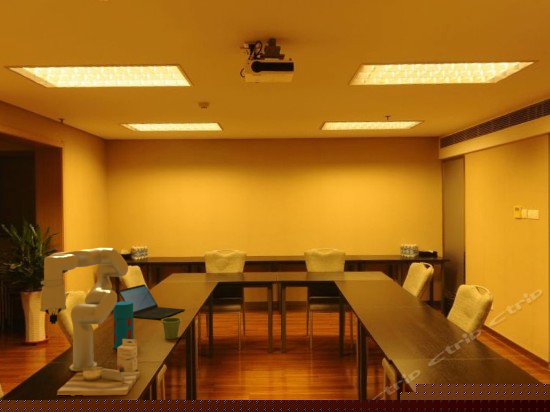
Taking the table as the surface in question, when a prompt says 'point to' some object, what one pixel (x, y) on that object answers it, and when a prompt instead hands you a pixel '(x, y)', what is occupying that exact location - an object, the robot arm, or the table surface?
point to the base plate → (98, 385)
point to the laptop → (146, 303)
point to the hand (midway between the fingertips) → (53, 323)
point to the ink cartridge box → (127, 355)
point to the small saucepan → (103, 374)
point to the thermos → (122, 322)
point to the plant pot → (171, 327)
